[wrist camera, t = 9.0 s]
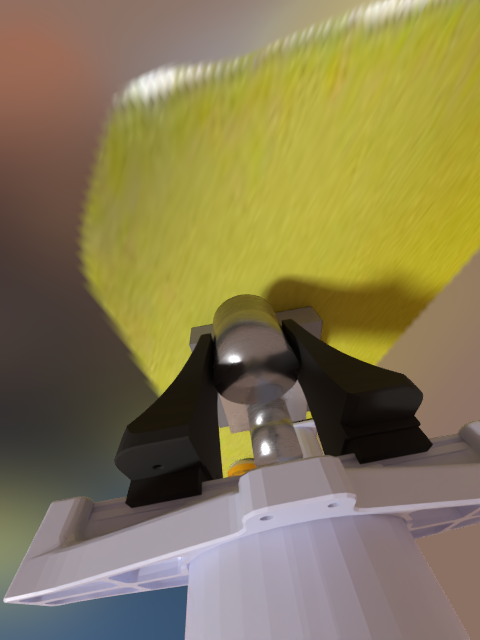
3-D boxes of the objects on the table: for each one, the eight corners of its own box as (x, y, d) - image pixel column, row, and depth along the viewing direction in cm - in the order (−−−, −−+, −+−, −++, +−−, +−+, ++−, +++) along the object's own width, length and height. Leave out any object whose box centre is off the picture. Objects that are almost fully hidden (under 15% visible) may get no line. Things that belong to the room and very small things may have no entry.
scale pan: (303, 413, 25) (305, 419, 25) (230, 426, 25) (231, 433, 25) (307, 346, 19) (310, 352, 19) (211, 364, 19) (211, 370, 18)
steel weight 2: (283, 420, 24) (297, 468, 20) (245, 422, 24) (252, 473, 20) (290, 396, 22) (308, 445, 18) (248, 398, 21) (257, 450, 17)
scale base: (305, 393, 28) (314, 413, 26) (219, 409, 28) (219, 431, 26) (311, 306, 21) (324, 323, 18) (191, 327, 20) (188, 348, 18)
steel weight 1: (276, 340, 16) (299, 396, 12) (220, 351, 16) (222, 410, 12) (273, 288, 13) (301, 336, 9) (206, 301, 13) (203, 354, 9)
